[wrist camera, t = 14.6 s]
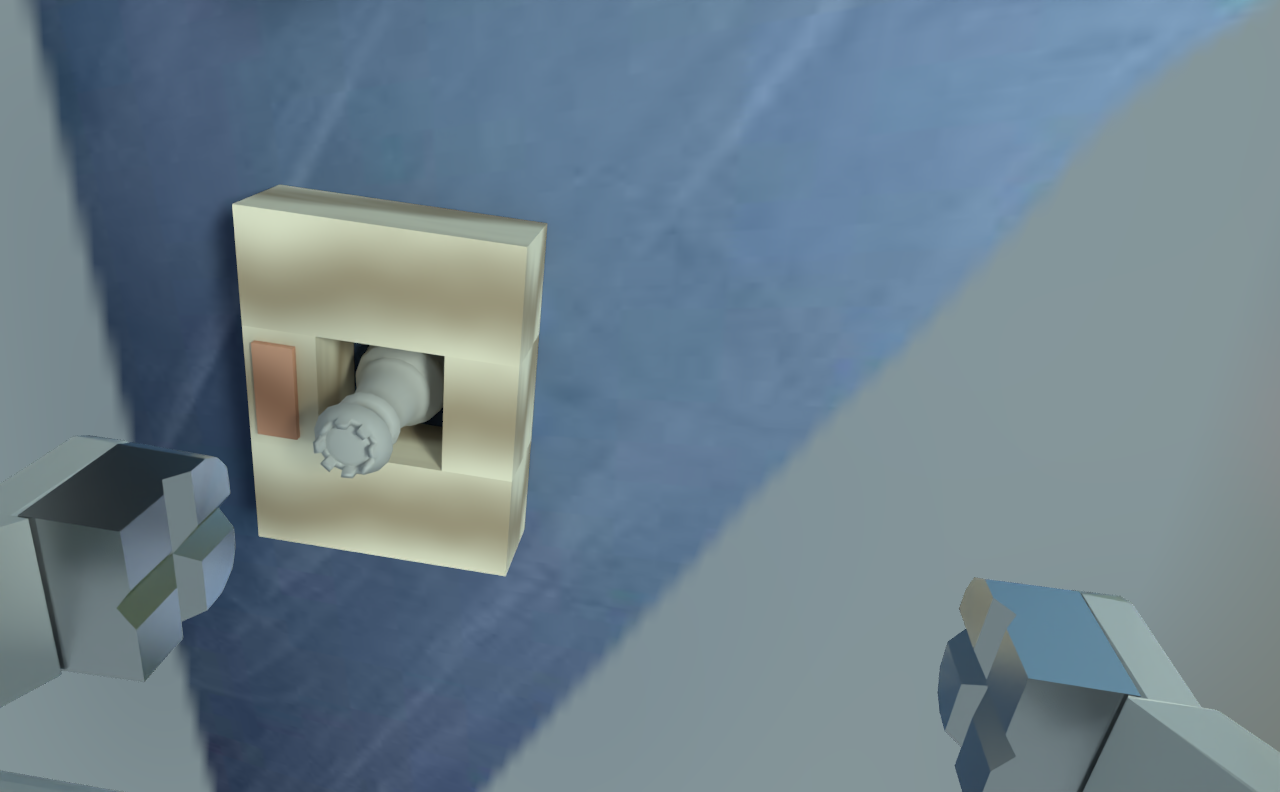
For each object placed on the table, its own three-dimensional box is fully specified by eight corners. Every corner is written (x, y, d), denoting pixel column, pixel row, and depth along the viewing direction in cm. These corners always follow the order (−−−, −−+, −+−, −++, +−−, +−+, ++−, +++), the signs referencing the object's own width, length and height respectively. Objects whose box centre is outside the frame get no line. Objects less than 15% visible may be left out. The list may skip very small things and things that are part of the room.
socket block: (279, 184, 38) (228, 205, 34) (547, 223, 38) (525, 248, 34) (297, 493, 45) (255, 539, 41) (524, 529, 45) (504, 580, 41)
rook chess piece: (361, 400, 42) (285, 483, 35) (371, 316, 40) (292, 386, 33) (450, 423, 42) (391, 511, 35) (464, 341, 41) (406, 416, 33)
